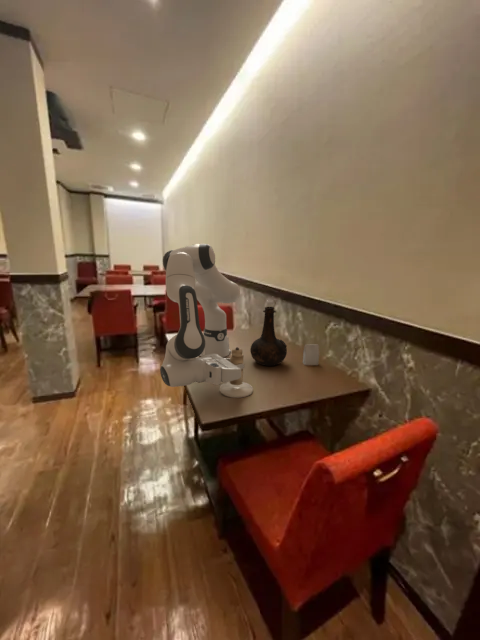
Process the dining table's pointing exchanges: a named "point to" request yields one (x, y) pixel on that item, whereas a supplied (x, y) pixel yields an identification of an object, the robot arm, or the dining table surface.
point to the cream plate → (236, 390)
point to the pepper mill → (236, 359)
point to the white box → (311, 354)
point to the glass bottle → (268, 343)
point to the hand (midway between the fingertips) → (238, 362)
